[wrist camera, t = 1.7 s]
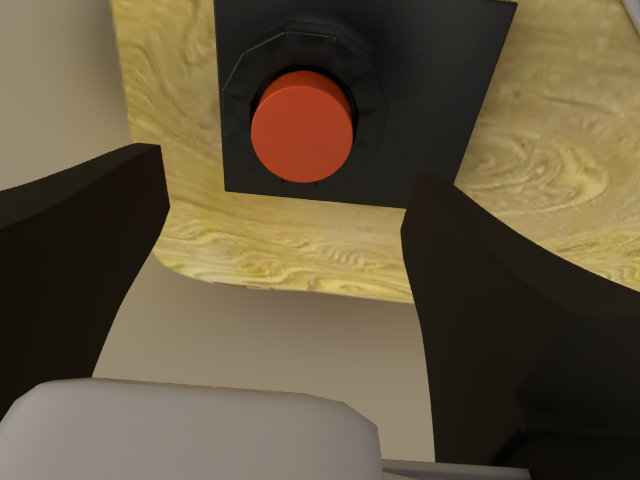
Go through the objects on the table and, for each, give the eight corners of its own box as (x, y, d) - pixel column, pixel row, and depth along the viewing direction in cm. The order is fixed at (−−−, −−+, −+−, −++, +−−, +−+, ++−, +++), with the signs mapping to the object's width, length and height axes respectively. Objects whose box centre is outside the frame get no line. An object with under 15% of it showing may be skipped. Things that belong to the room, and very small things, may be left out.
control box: (499, -5, 17) (538, 10, 14) (435, 192, 23) (451, 232, 20) (223, -39, 16) (198, -32, 13) (232, 172, 23) (216, 210, 19)
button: (357, 75, 16) (360, 92, 14) (343, 164, 18) (345, 187, 17) (258, 64, 16) (250, 80, 14) (258, 156, 18) (251, 178, 16)
